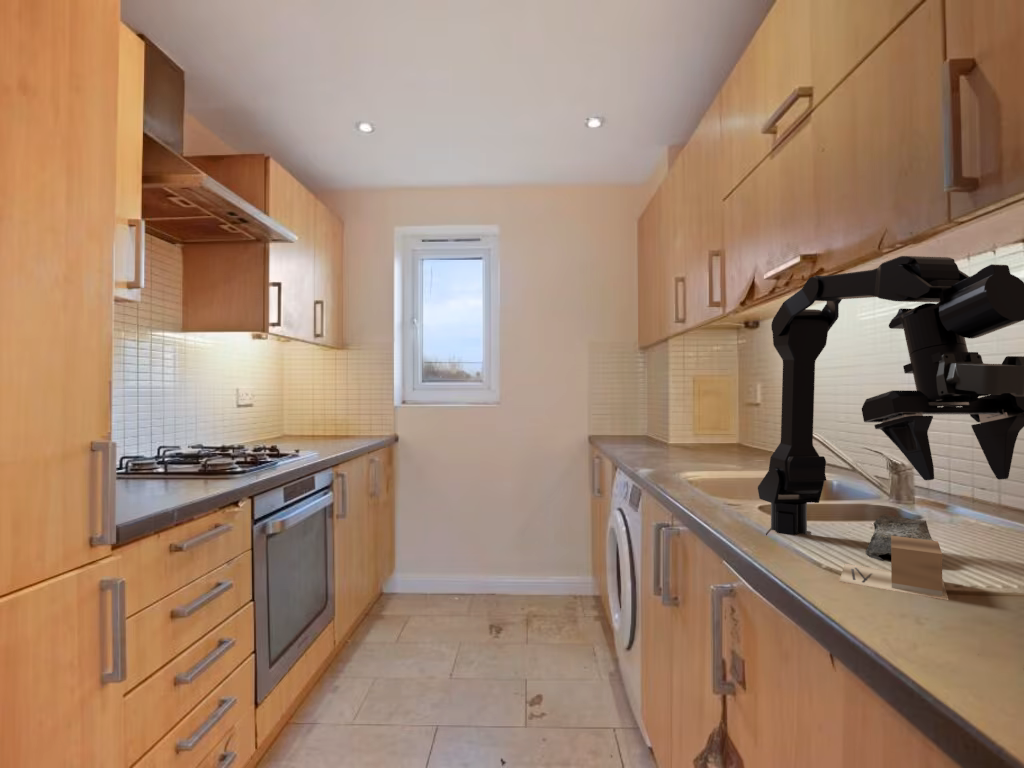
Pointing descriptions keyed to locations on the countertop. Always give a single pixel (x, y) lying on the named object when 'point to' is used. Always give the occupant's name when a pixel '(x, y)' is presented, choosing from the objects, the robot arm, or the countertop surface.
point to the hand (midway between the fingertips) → (966, 479)
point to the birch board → (877, 579)
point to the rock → (894, 533)
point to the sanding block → (916, 565)
